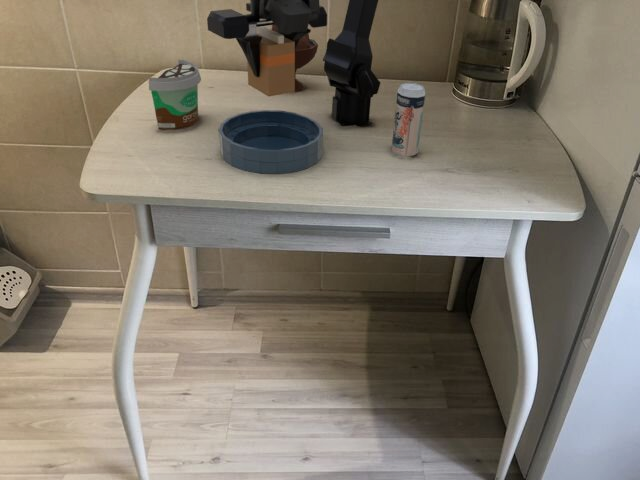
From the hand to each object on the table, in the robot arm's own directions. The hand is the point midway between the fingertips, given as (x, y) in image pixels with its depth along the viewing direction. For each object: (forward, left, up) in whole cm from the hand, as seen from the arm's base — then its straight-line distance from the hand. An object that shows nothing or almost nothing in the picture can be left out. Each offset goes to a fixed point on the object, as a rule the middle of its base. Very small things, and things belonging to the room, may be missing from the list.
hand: (270, 74), depth 98 cm
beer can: (-22, +8, -13) cm, 27 cm away
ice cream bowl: (-12, -29, -13) cm, 34 cm away
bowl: (+1, +3, -13) cm, 13 cm away
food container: (+13, -13, -13) cm, 22 cm away
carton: (0, 0, -2) cm, 2 cm away
